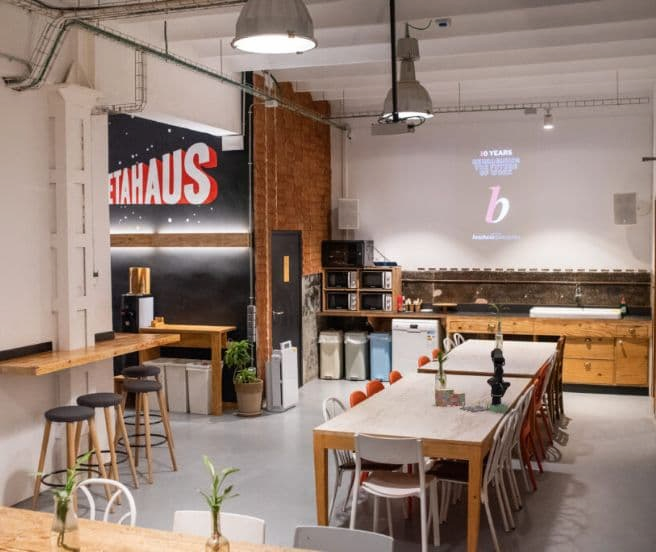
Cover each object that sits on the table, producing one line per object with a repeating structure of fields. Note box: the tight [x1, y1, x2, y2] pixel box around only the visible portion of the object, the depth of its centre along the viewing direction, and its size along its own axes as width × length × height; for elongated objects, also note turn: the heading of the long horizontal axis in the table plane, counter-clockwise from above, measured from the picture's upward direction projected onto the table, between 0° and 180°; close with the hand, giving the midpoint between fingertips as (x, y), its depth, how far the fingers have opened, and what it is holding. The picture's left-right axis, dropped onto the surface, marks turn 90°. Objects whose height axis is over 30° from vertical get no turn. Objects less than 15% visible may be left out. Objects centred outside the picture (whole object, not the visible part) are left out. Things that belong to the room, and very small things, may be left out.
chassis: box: [459, 399, 490, 413], centre depth 580 cm, size 17×14×6 cm
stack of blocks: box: [434, 388, 466, 407], centre depth 598 cm, size 21×6×12 cm, turn 102°
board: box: [489, 403, 509, 413], centre depth 576 cm, size 12×6×4 cm, turn 120°
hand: (498, 394), depth 576 cm, fingers open, 9 cm apart
